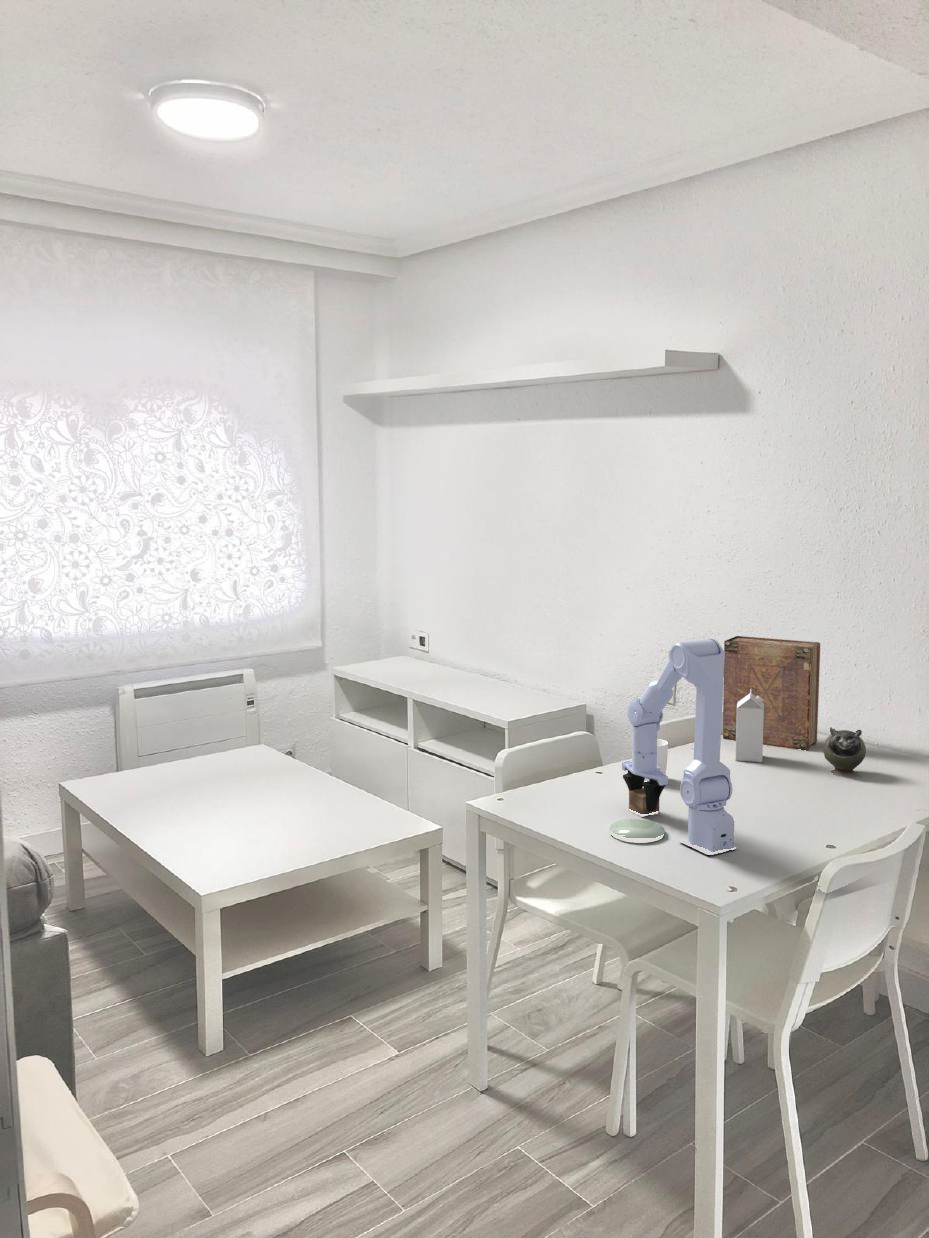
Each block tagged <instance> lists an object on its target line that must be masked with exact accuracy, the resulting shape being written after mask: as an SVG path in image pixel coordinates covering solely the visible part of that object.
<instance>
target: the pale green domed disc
mask: <svg viewBox="0 0 929 1238" xmlns="http://www.w3.org/2000/svg"><path fill="white" fill-rule="evenodd" d="M610 830H611V831H612V832H613V833H615V834H617V835H625V836H623V837H626V838H656V837H658V836H661V835H663V834H664V832H665V831H666V830H665V827H664V826H663V825H662V824H660V823H658V822H655V821H653V820H649V819H648V820H647V819H642V818H639V819H637V818H628V819H622V820H617V821H615V822H612V823H611V824H610V825H609V831H610Z"/></svg>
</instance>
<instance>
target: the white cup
mask: <svg viewBox="0 0 929 1238" xmlns="http://www.w3.org/2000/svg"><path fill="white" fill-rule="evenodd" d="M668 750H669V742H668V740H665V739H661V738H657V766H658V767H660V770H659V771H661V772H662V773H663V774H664V775H666V776H667V765H668V756H669V755H668V753H669V751H668ZM644 781H649V779H647V778H645V780H644Z"/></svg>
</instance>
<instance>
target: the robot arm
mask: <svg viewBox="0 0 929 1238" xmlns="http://www.w3.org/2000/svg"><path fill="white" fill-rule="evenodd" d="M724 662H725V652H724V648H723V647H722V645H721V644H720V643H719V641H718V640H717V639H715V638H708V639H704V640H693V641H675V642H674V644H672V645H671V648H670V650H669V651H668V662H667V664H666V666H665V667H664V669H663V670H662V673H661V674H660V676H659V678H658V679H654V680H650V681H649V682H648V685H647V687H646V688H645V690H644V691H643V693H642V694H641V696H640V697H639V699H636V700H630V702H629V704H628V706H627V712H626V713H627V718H628V721H629V723H630V724H631V725H632V728H631V729H632V730H631V731H632V733H631V735H632V736H631V737H632V738H631V739H632V740H631V743H632V744H631V751H632V752H631V753H632V754H631V761H630V760H628V761H627V760H625V761H622V762H621V770H622V771H625V772H626V771H627V772H626V773H623V775H622V778H623V780H624V782H625V784H626V786H627V788H628V792H629V791H632V790H637V789H642V788H644V790H645V795H646V806H647V811H654V810H656V808H657V804H658V800H659V801H660V797H661V795H662V792H663V791H664V789H665V787H666V786H667V785H669V776H668V775H667V774H666V775H664V774H663V773H662V772H661V771H659V770H660V767H658V766H657V739H658V732H659V731H660V729H661V727H660V725H661V723H662V721H663V718H664V713H663V710H664V708H665V707H666V706H667V705H668V703H669V702H670V700H671V699H672V698H673V696H674V689H673V688H674V687H675V686H676V685H677V683H679V681H680V680H681V679H682V678H684V680H686V681H687V682H688V683H690V684H692V685H693V686H694V687H695V689H696V696H695V698H696V699H695V713H694V714H695V717H694V718H695V719H694V737H693V738H694V743H693V760H692V761H691V762H689V764H688V765H687V766H686V767H685V768H684V769H683V775H682V776H683V777H682V780H681V782H680V786H679V792H680V797H681V799H682V800H683V802H684V804H685V805H686V806H687V807H688V809H687V810H688V815H687V816H688V817H687V818H688V819H687V826H688V827H687V838H688V842H690V844H692V845H697V846H699V847H703V848H705V849H708V850H709V851H711V852H715V851H718V850H723V849H731V848H734V846H735V820H734V817H733V816H732V815H731V814H730V813H728V812H727V811H726V810H725V808H724V807H725V806H727V801H729V800H730V799H731V797H732V795H733V783H732V780H731V770H730V768H729V767H727V765H725V764H724V763H723V762H721V761H720V760H721V742H722V725H723V700H724ZM645 778H647V779H649V781H647V782H644V780H645Z"/></svg>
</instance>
